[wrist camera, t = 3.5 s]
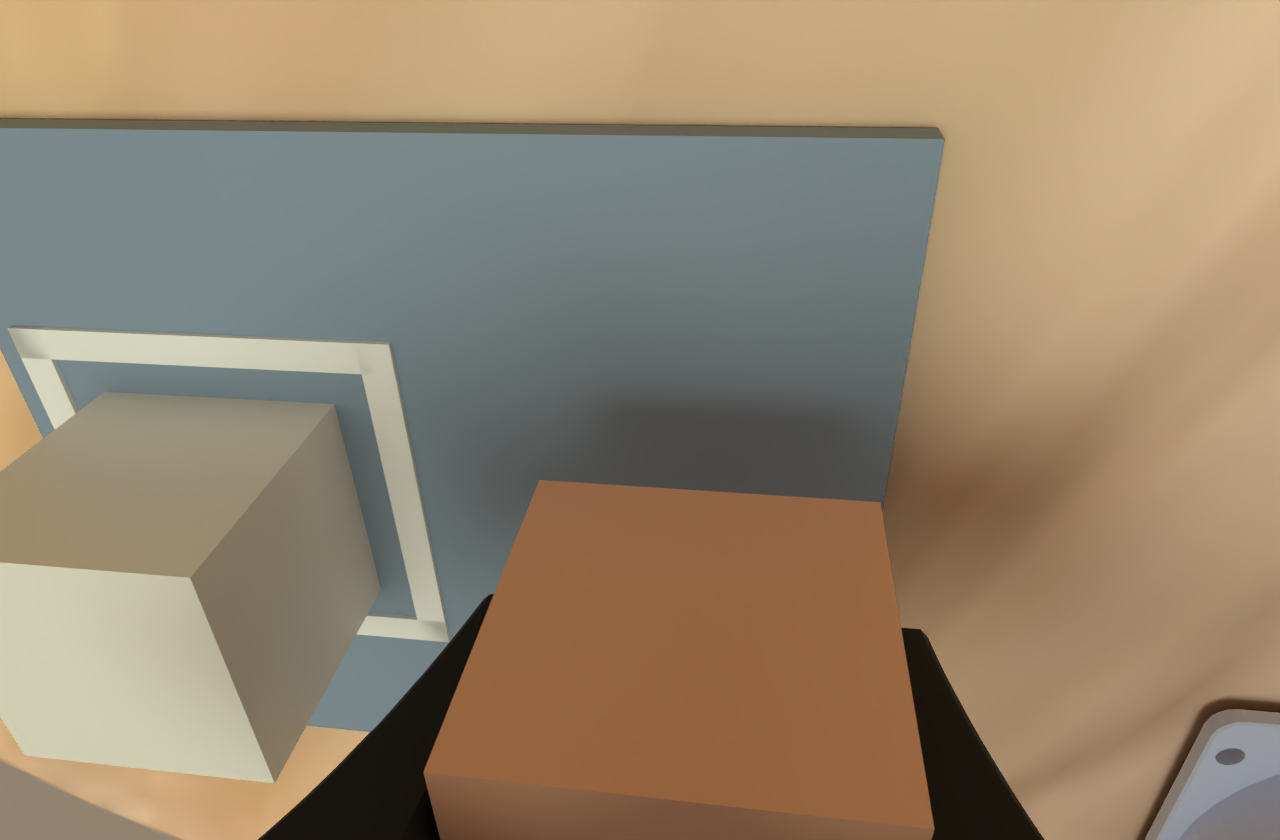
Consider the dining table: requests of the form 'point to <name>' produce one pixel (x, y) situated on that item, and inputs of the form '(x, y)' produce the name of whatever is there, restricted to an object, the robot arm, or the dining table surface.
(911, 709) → the top block
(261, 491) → the base block
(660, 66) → the dining table surface
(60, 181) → the board
